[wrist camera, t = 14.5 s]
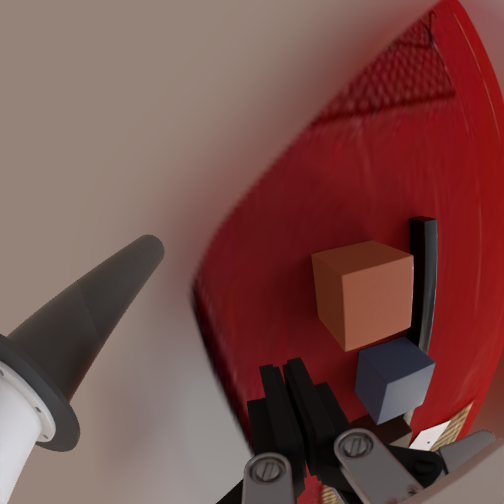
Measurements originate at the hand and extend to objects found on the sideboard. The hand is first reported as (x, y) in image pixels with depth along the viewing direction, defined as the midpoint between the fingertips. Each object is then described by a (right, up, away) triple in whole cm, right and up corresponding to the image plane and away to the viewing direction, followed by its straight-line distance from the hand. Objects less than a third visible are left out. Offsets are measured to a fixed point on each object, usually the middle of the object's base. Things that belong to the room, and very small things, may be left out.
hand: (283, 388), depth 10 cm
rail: (+14, -4, +12) cm, 19 cm away
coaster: (+26, -25, +18) cm, 41 cm away
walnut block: (+12, -14, +14) cm, 23 cm away
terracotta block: (+6, +4, +9) cm, 11 cm away
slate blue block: (+11, -5, +12) cm, 17 cm away
